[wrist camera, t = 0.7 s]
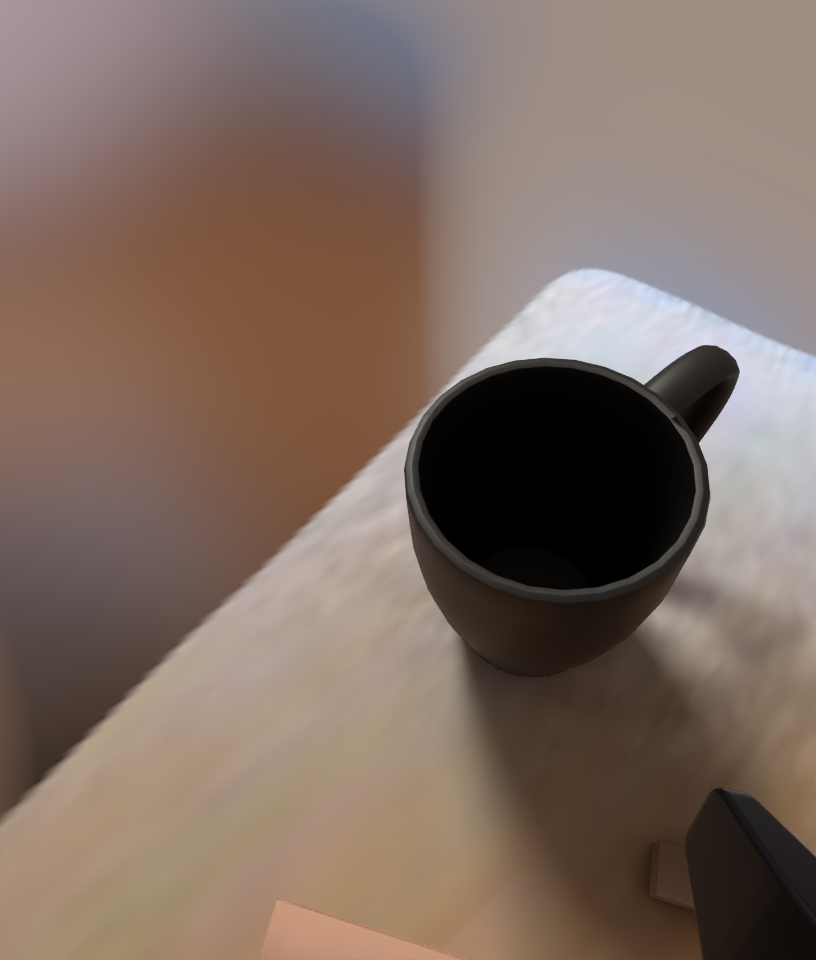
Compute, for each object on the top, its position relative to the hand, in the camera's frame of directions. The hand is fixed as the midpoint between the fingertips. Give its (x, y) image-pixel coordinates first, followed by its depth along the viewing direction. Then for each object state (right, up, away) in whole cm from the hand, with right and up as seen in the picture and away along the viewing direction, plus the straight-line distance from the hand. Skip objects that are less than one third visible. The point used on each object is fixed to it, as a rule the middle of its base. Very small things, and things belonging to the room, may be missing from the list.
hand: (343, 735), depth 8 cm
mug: (+7, -1, +19) cm, 20 cm away
